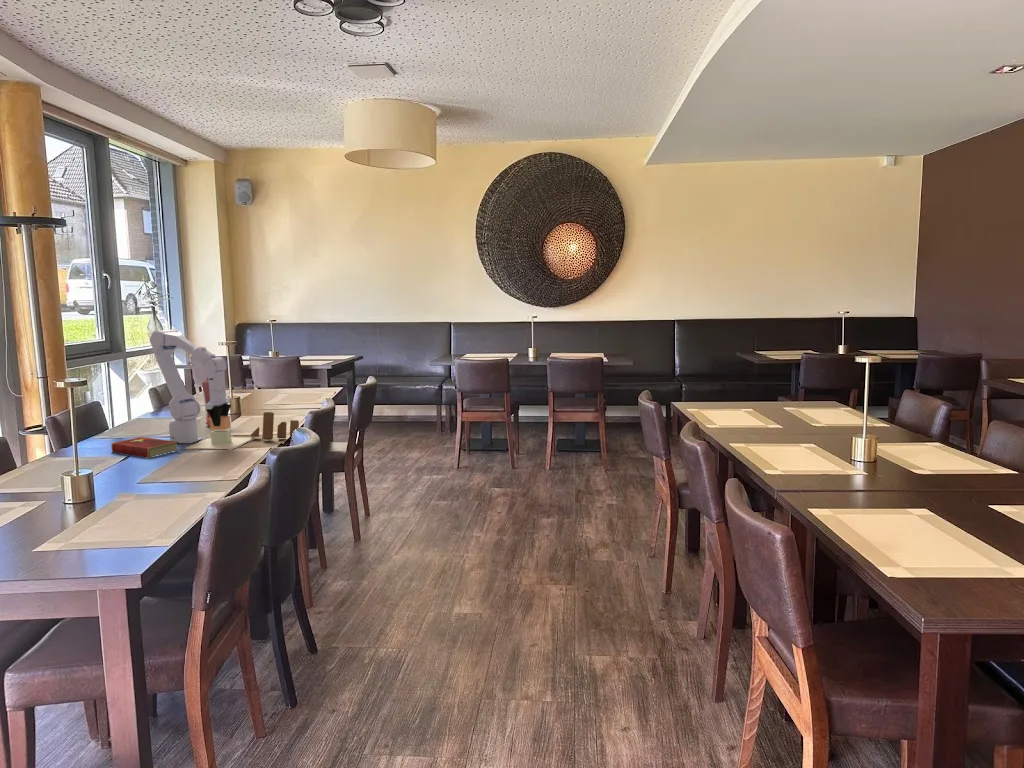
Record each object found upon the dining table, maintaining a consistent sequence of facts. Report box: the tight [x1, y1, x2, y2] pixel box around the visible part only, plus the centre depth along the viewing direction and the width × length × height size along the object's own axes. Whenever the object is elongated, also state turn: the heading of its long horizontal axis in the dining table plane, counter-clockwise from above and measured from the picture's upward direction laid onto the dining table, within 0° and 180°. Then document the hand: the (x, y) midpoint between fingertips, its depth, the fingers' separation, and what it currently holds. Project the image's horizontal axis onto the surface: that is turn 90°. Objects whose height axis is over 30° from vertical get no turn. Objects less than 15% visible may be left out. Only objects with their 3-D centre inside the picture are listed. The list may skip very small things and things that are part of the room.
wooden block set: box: [249, 411, 300, 441], centre depth 271 cm, size 18×9×10 cm, turn 103°
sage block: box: [209, 429, 232, 444], centre depth 263 cm, size 6×4×4 cm, turn 84°
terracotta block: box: [209, 415, 231, 431], centre depth 263 cm, size 6×4×4 cm, turn 84°
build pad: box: [185, 436, 256, 451], centre depth 264 cm, size 18×18×1 cm
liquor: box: [201, 376, 210, 427], centre depth 298 cm, size 7×7×28 cm
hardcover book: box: [111, 436, 179, 459], centre depth 253 cm, size 12×21×4 cm, turn 62°
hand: (220, 424), depth 263 cm, fingers closed on terracotta block, 4 cm apart
